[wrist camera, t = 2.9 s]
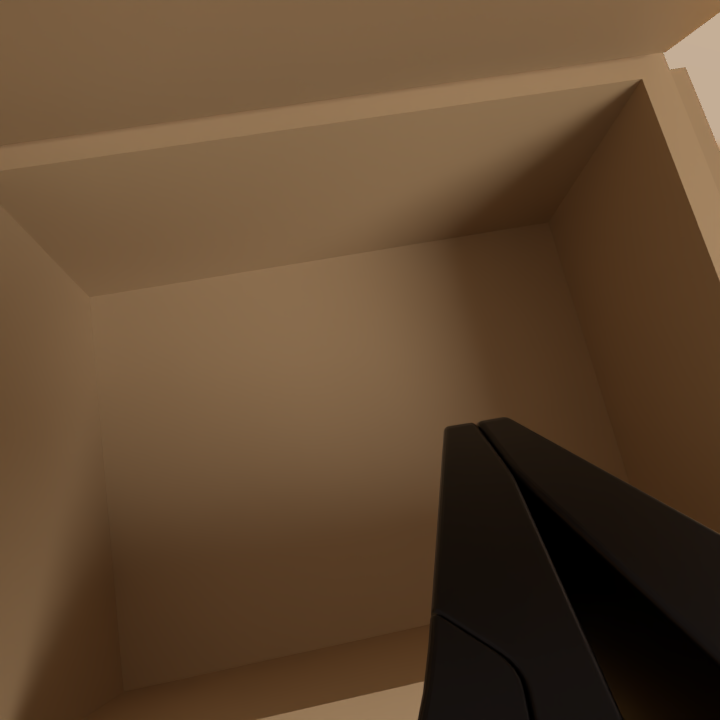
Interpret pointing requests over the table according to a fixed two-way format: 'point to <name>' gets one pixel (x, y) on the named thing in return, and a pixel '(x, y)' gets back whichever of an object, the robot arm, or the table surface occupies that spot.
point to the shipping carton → (328, 372)
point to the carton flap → (290, 52)
